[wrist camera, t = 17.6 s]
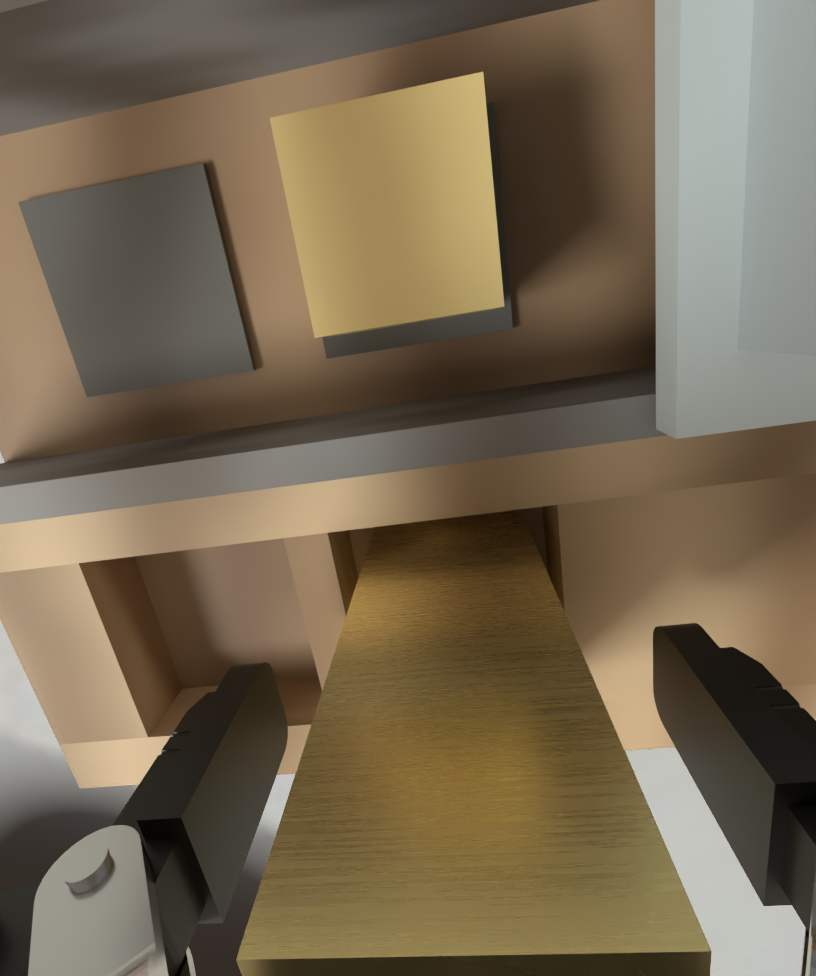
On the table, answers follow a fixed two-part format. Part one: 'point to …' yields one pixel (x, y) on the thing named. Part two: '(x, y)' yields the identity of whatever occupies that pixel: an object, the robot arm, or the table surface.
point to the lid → (735, 214)
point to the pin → (466, 787)
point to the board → (347, 351)
